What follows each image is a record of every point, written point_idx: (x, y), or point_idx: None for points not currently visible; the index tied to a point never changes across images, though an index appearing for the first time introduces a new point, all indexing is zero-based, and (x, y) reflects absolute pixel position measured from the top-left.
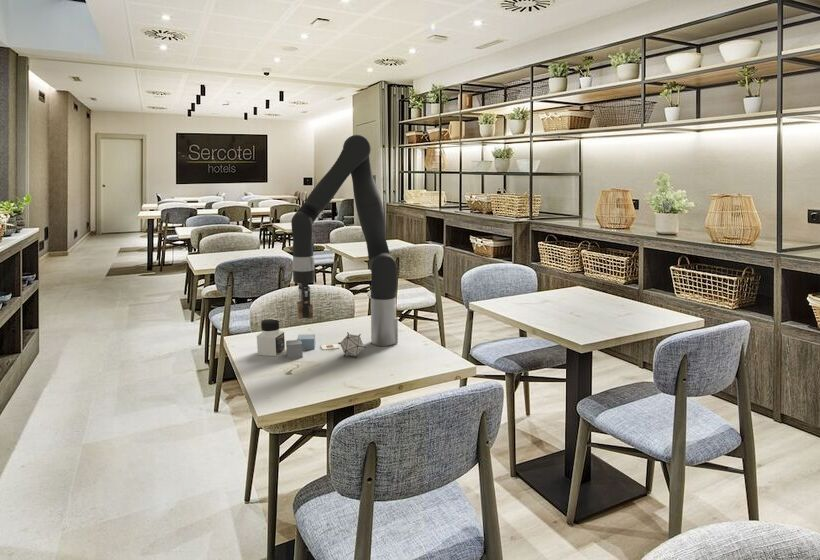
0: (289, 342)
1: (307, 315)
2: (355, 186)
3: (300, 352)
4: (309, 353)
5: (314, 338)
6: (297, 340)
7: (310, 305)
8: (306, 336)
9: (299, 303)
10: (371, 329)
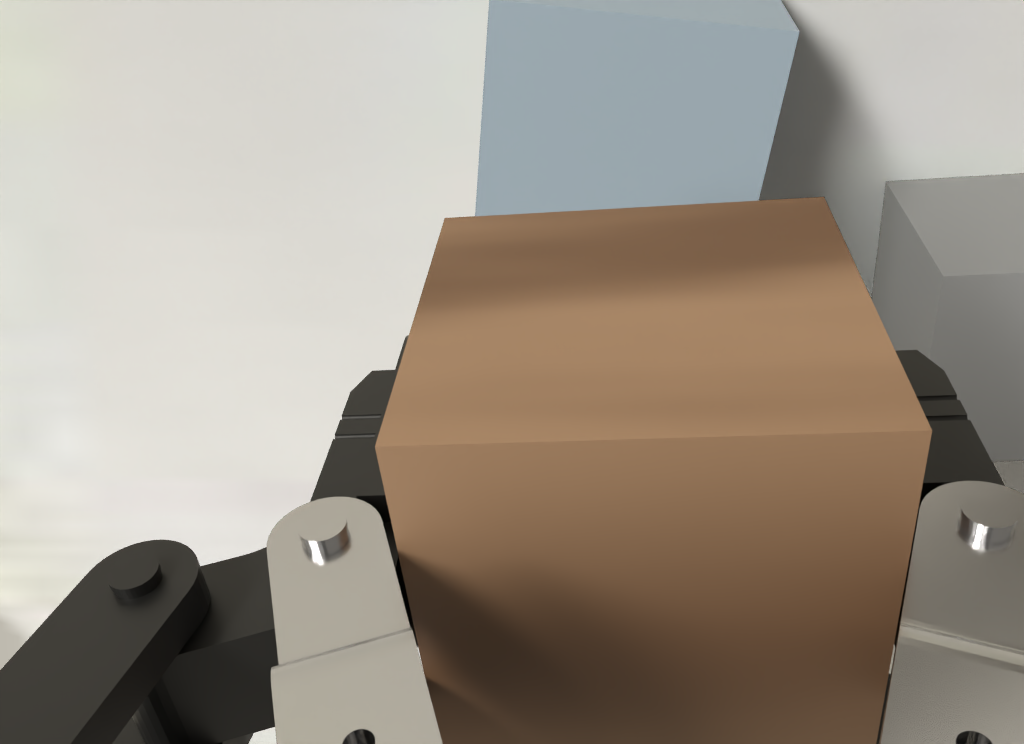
0: (1021, 427)
1: (928, 378)
2: None
3: None
4: (954, 69)
5: (693, 14)
6: (972, 324)
7: (905, 462)
8: (607, 156)
9: (677, 738)
10: None
